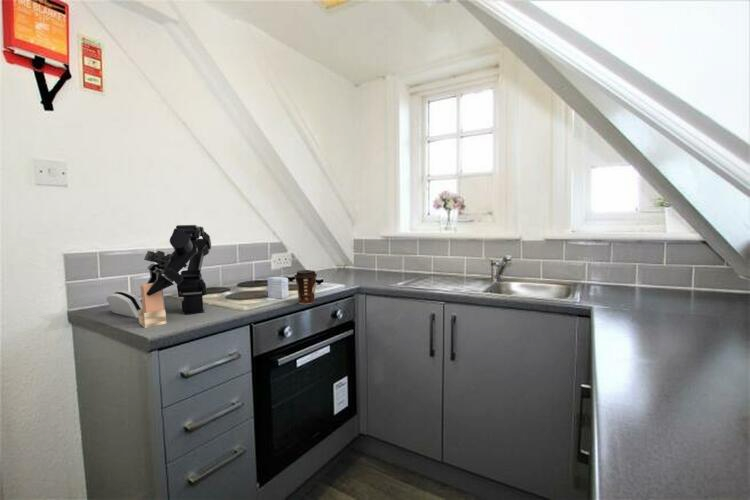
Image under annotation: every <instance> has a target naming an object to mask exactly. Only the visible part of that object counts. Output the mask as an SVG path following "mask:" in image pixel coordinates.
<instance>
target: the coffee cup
mask: <svg viewBox="0 0 750 500" xmlns="http://www.w3.org/2000/svg"><path fill="white" fill-rule="evenodd" d="M317 276H318V275H317V273H316V271H315V270H311V269H305V270H304V269H303V270H298V271H297V272H296V274H295V275H294V278H295V282H296V287H297V288H296V289H297V298H298V304H299V305H311V304H314V303H315V295H316V289H317V288H316V286H317V285H316V284H317V281H316V278H317Z"/></svg>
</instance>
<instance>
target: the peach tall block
mask: <svg viewBox="0 0 750 500" xmlns="http://www.w3.org/2000/svg"><path fill="white" fill-rule="evenodd" d="M152 285H153V283H149V284H147V283H144V284H140V286H139V288H140V297H141V303H142V306H143V313H148V312H154V311H160V310H165V311H166V309H165V307H166V306H165V298H164V289H163V290H160V291H158V292H156V293H154V294H152V295H150V296H148V295H147V294H146V293H147V292H148V290H149V289H150V288H151V286H152Z"/></svg>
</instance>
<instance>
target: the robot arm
mask: <svg viewBox="0 0 750 500" xmlns="http://www.w3.org/2000/svg"><path fill="white" fill-rule="evenodd" d="M200 237H201V238H200ZM169 243H170V245H171V247H172V248H173V251H172V252H171V253H167V254H166V253H165V252H164V251H162V250H157V251H151V250H148V251H147V253H146V254H145V256H144V261H147V262H150V264H149V265H148V267H147V270H148V271H149V280H148V281H147V283H146V284H149V283H153V285H152V286H151V288H150V289H149V290H148V292H147V293H146V294H147V295H148V296H150V295H152V294H154V293H156V292H158V291H160V290H163V291H164V289H166V288H170V287H172V286H175V284H176V289H177V295H178V298H182V299H181V300H180V305H181V312H182V313H183V314H184V315H192V314H193V315H194V314H198V313H200V314H201V313H205V310H204V301H203V300H204V299H203V297H204V296H207V295H208V290H207V284H206V282H205V280H204V279H203V275H202V273H201V272H202V265H203V261H204V257H206V256H207V255H209V254H210V251H211V249H212V241H211V236H210V235H209V234H208V233H207V232H205V228H204V227H203V226H198V225H196V224H185V225H184V224H182V225H181V224H177V225H176V226H175V228H174V229H173V232H172V234H171V236H170V238H169ZM165 254H166V255H165ZM188 262H189V263H188ZM186 267H187V269H185V270H182V269H183V268H186ZM180 271H181V272H180ZM179 272H180V273H179ZM174 283H175V284H174Z"/></svg>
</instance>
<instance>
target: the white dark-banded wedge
mask: <svg viewBox="0 0 750 500" xmlns="http://www.w3.org/2000/svg"><path fill="white" fill-rule="evenodd" d="M105 299H106V301H107V303H108V305H109V307H110V310H111V312H112V313H113V314H117V315H121V316H127V317H129V318H130V317H131V318H136V319H137V318H138V319H139V317H138V310H141V309H143V306H142V300H140V298H139V297H138V295H136V294H134V293H132V292H130V291H128V290H118V291H115V292H113V293H111V294H109V295H107V296H106V298H105Z"/></svg>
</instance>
